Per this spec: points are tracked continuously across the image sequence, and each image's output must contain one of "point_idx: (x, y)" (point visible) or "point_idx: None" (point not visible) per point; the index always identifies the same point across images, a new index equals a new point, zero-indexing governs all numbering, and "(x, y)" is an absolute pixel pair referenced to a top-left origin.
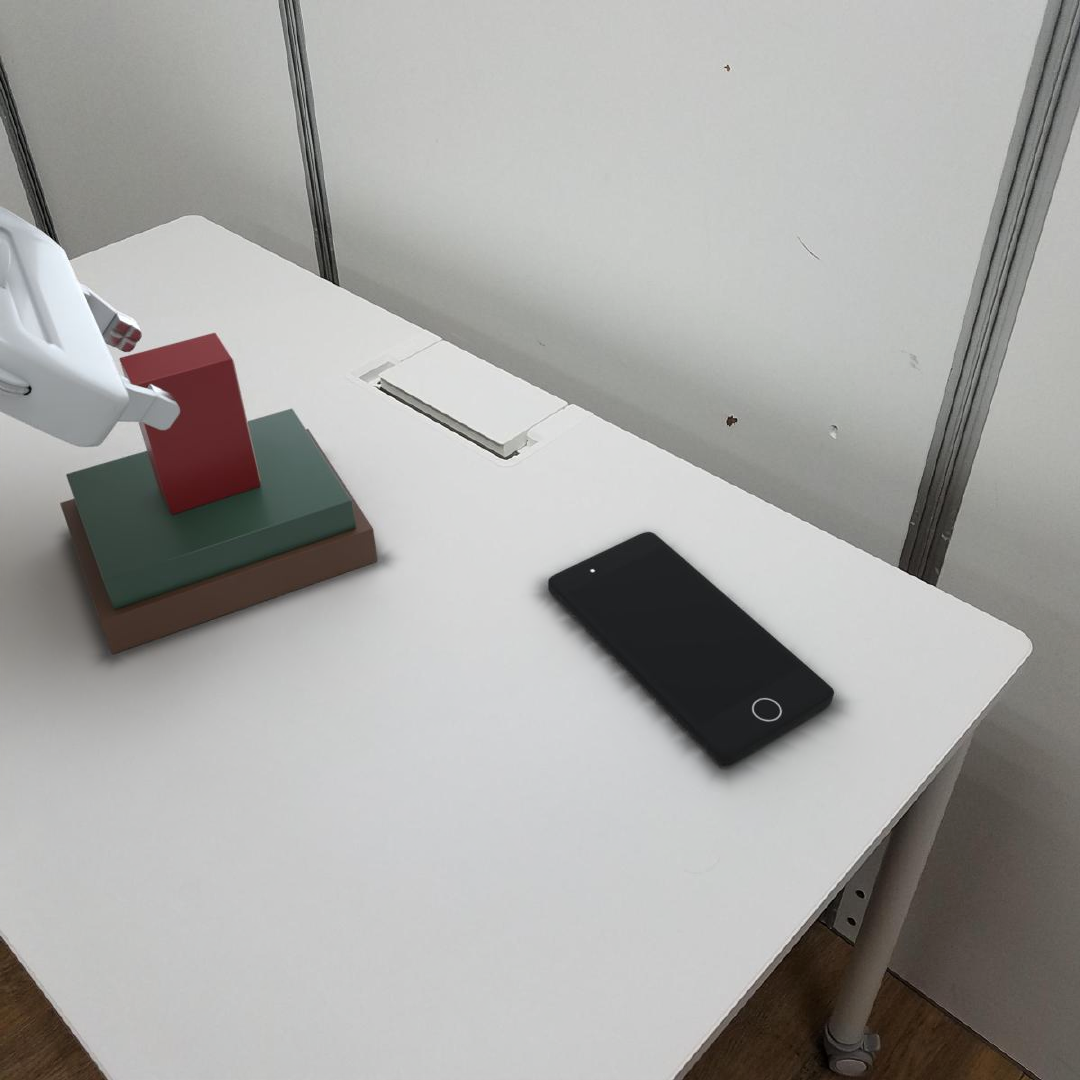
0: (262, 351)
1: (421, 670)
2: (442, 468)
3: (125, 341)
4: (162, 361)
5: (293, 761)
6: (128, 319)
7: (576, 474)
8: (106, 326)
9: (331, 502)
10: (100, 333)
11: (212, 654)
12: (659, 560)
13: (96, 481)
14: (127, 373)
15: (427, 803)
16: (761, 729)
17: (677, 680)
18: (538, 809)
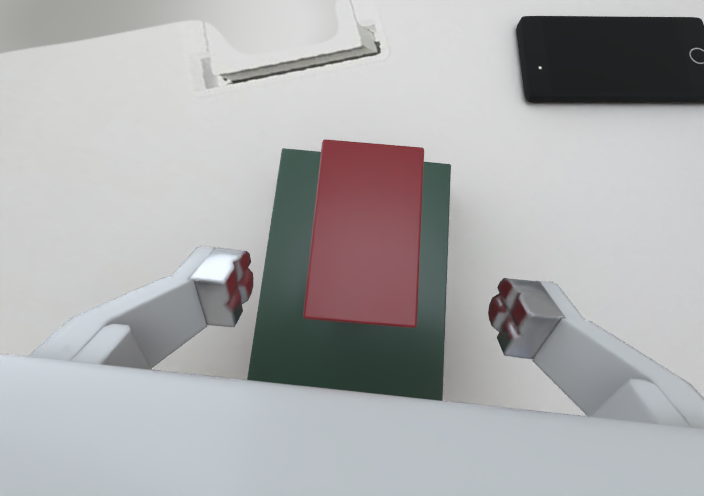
0: (107, 137)
1: (553, 208)
2: (362, 94)
3: (244, 286)
4: (364, 252)
5: (591, 318)
6: (208, 260)
7: (424, 24)
8: (200, 309)
9: (445, 180)
10: (536, 420)
11: (465, 328)
12: (552, 28)
13: (279, 363)
14: (369, 323)
15: (660, 259)
16: None
17: (656, 82)
18: (691, 205)
